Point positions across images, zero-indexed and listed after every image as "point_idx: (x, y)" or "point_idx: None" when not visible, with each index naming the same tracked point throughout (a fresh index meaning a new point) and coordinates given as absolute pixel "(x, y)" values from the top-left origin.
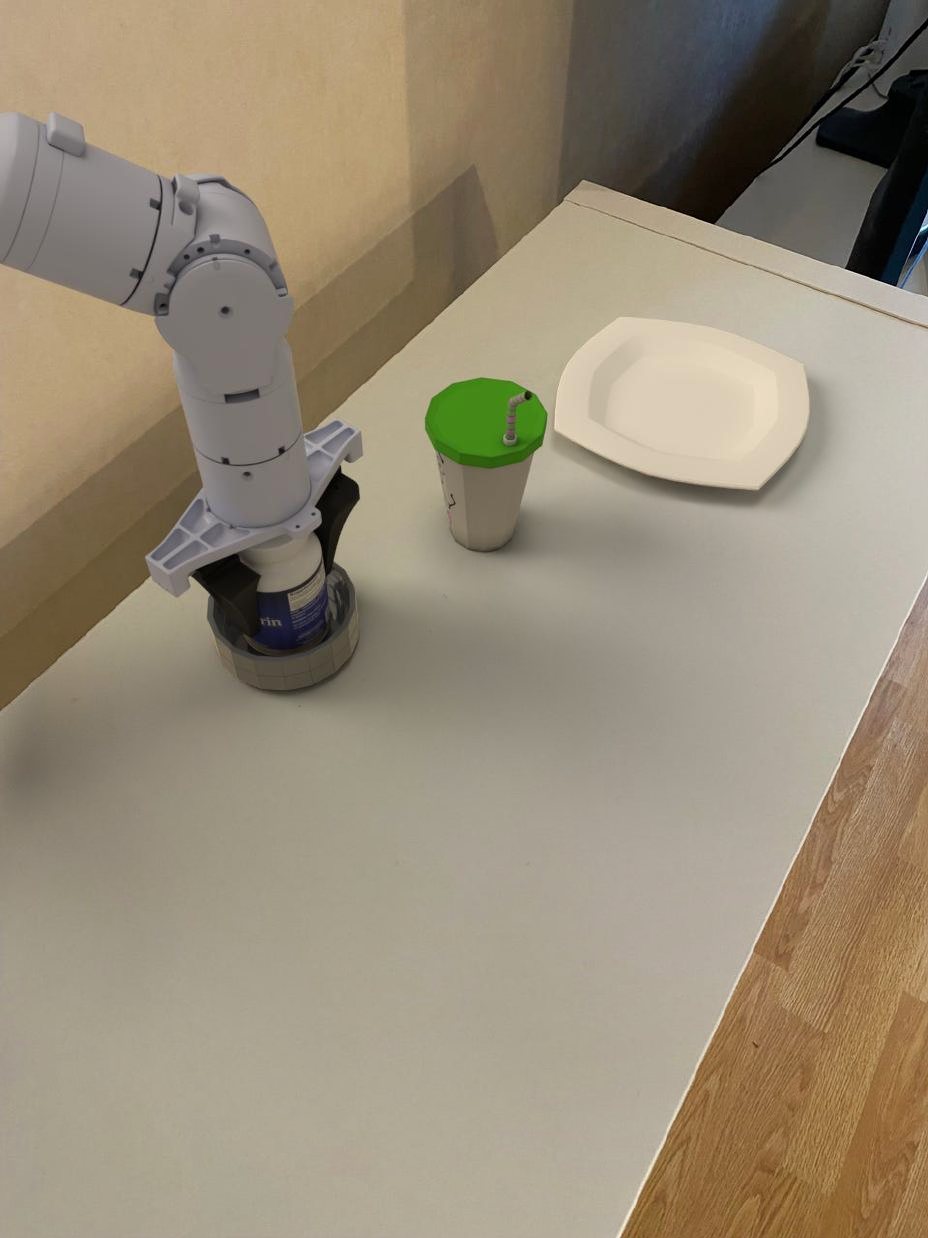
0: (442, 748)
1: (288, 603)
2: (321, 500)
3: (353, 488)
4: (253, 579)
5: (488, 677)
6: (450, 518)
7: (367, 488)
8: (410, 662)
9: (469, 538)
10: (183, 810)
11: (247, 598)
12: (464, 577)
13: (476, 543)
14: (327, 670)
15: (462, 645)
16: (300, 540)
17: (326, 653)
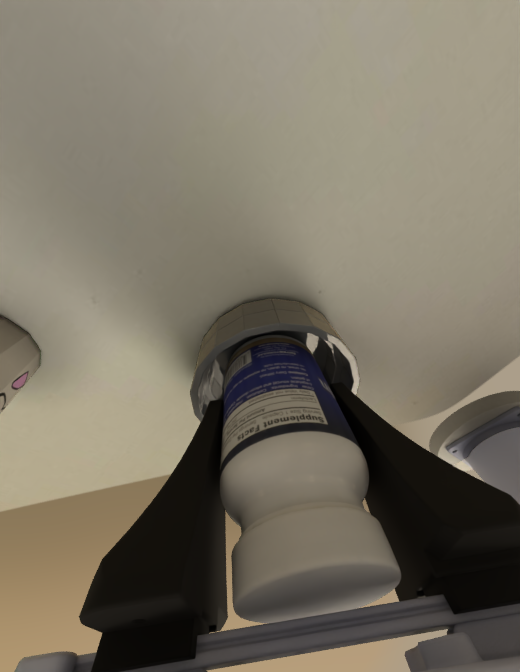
0: (243, 88)
1: (321, 406)
2: (194, 607)
3: (98, 615)
4: (475, 529)
5: (103, 141)
6: (19, 379)
7: (104, 437)
8: (189, 252)
9: (9, 343)
10: (473, 272)
11: (410, 458)
12: (54, 306)
13: (6, 333)
14: (281, 303)
15: (111, 222)
16: (300, 544)
17: (285, 316)
